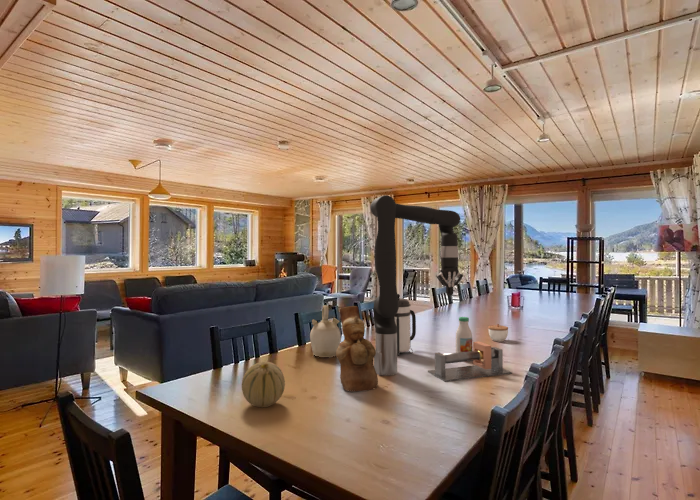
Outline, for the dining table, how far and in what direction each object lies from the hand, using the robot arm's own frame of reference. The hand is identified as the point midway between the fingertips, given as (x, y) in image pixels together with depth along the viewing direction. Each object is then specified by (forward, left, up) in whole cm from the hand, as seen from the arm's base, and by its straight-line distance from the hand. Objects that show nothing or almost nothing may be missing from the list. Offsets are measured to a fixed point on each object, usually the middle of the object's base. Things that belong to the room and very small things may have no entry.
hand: (449, 295), depth 185 cm
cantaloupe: (-84, -18, -32) cm, 92 cm away
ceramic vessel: (-47, -7, -32) cm, 57 cm away
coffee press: (-10, +32, -32) cm, 46 cm away
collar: (+9, -10, -30) cm, 33 cm away
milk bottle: (+13, +9, -32) cm, 36 cm away
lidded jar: (+54, +37, -32) cm, 73 cm away
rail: (+3, -10, -32) cm, 34 cm away
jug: (-47, +40, -32) cm, 70 cm away
